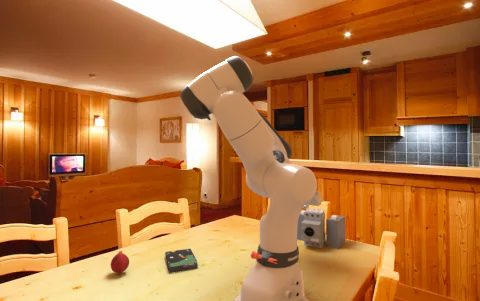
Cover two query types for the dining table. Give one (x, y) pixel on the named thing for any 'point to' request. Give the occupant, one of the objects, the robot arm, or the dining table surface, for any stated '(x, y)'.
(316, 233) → the circuit breaker
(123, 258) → the onion
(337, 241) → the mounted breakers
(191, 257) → the disk drive
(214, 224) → the dining table surface
